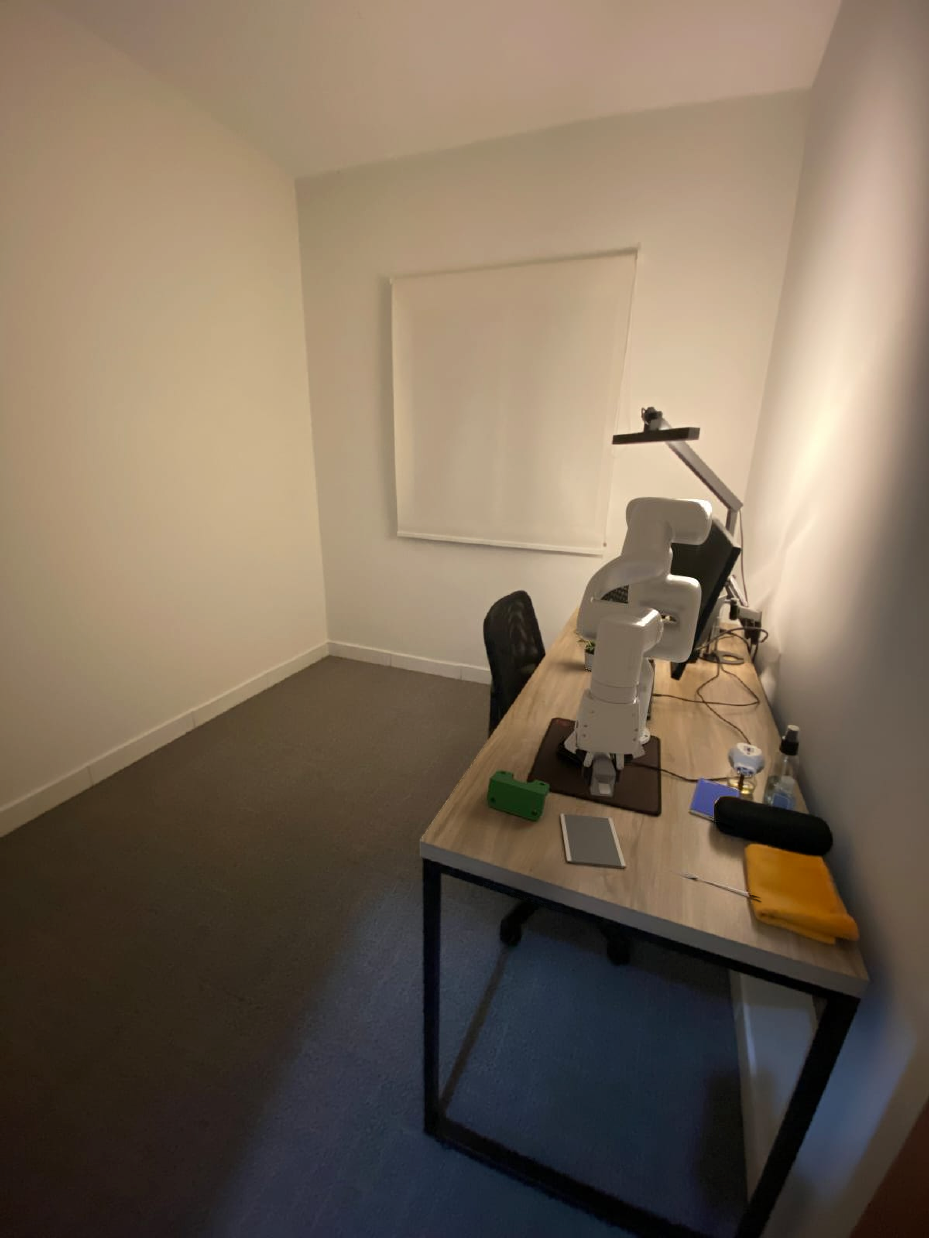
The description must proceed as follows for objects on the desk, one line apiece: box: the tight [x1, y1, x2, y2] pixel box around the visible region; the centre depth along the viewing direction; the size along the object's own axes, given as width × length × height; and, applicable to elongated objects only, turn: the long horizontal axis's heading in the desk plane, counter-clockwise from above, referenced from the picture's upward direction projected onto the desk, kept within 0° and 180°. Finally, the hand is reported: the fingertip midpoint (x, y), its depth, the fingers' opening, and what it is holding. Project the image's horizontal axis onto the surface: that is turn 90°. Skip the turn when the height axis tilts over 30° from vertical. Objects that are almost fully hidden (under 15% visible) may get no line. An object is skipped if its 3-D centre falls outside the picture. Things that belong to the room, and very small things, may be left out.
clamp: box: [486, 769, 551, 821], centre depth 99 cm, size 12×6×9 cm, turn 60°
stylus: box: [666, 868, 750, 898], centre depth 83 cm, size 4×1×19 cm
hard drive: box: [689, 777, 741, 822], centre depth 102 cm, size 2×8×12 cm
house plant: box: [575, 623, 596, 672], centre depth 166 cm, size 14×14×16 cm
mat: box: [559, 813, 627, 869], centre depth 91 cm, size 12×10×1 cm
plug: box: [589, 752, 616, 797], centre depth 85 cm, size 8×4×6 cm, turn 175°
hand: (599, 782), depth 87 cm, fingers closed on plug, 3 cm apart
